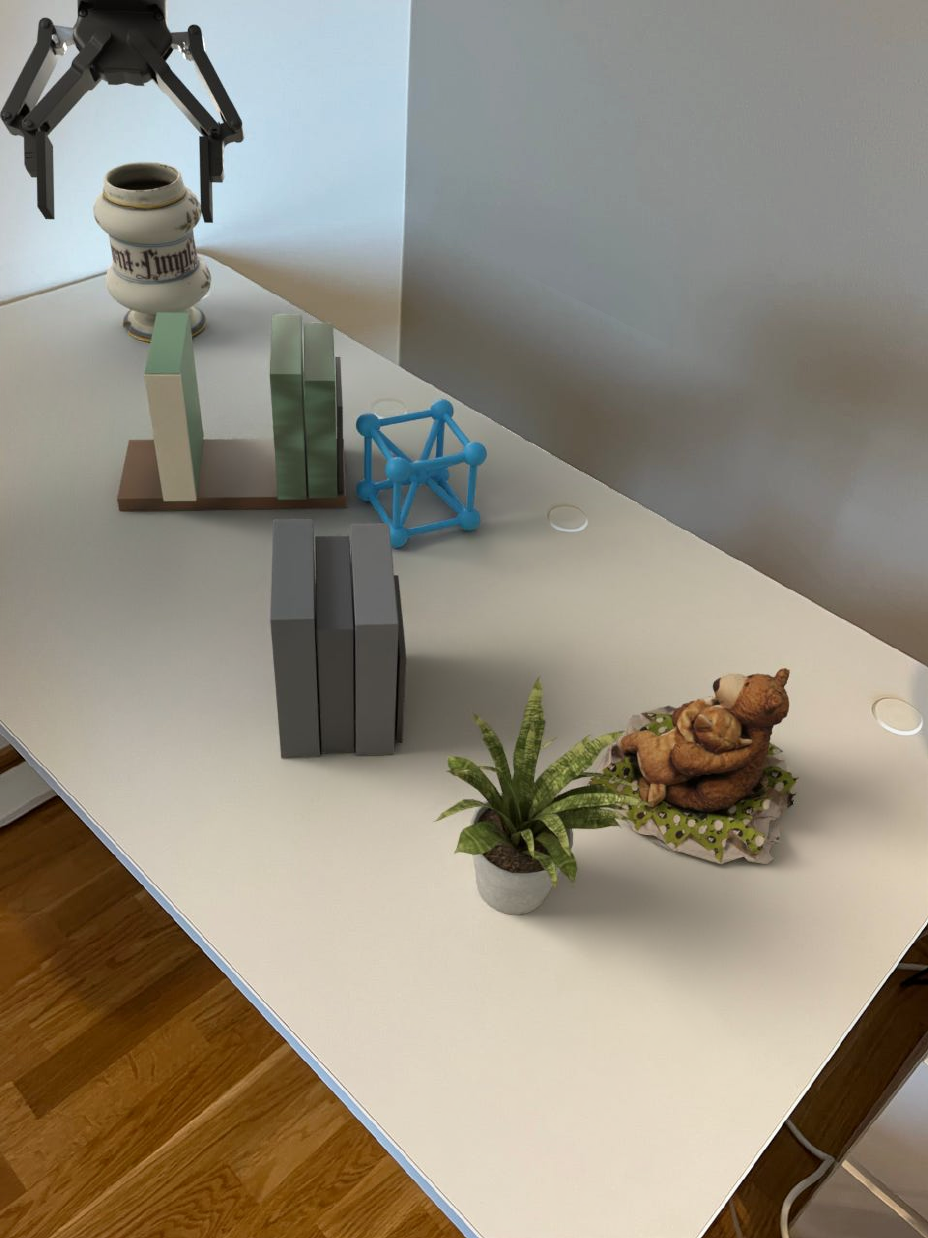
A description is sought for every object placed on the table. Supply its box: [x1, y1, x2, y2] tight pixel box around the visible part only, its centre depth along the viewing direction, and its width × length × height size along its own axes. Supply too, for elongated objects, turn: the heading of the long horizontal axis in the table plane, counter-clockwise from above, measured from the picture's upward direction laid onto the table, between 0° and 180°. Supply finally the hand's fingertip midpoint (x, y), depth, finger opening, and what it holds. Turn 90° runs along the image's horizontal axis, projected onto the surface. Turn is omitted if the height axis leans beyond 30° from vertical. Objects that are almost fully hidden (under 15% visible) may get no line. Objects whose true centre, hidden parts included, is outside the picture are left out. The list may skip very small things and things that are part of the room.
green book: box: [143, 313, 205, 501], centre depth 102 cm, size 3×11×14 cm, turn 6°
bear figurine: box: [586, 667, 800, 865], centre depth 80 cm, size 14×15×12 cm
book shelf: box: [116, 313, 348, 512], centre depth 103 cm, size 22×11×16 cm, turn 96°
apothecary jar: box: [93, 161, 212, 343], centre depth 124 cm, size 12×12×18 cm
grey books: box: [269, 518, 407, 759], centre depth 83 cm, size 10×11×15 cm
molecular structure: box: [355, 398, 488, 549], centre depth 103 cm, size 10×10×10 cm
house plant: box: [433, 676, 653, 916], centre depth 70 cm, size 14×14×16 cm
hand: (127, 215), depth 93 cm, fingers open, 13 cm apart
